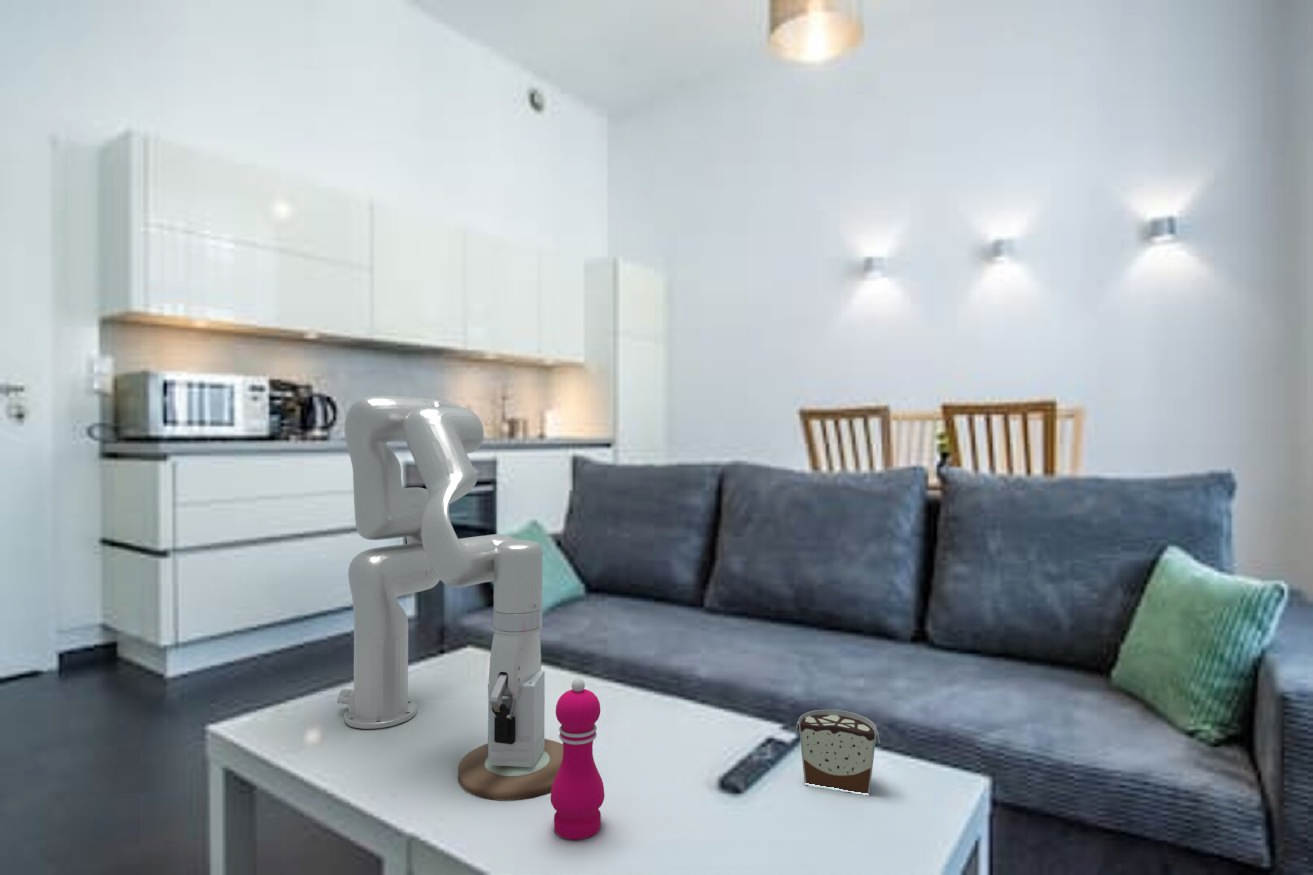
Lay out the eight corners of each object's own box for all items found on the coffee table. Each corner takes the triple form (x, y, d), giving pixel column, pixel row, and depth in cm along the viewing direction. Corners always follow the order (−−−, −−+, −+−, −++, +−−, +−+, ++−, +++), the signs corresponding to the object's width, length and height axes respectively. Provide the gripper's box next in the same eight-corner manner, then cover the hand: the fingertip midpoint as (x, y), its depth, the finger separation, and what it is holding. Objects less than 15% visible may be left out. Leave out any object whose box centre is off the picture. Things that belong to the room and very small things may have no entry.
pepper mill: (552, 814, 99) (552, 670, 99) (604, 812, 100) (604, 669, 100) (548, 843, 92) (549, 688, 92) (604, 841, 93) (605, 687, 93)
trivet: (435, 791, 105) (435, 780, 105) (491, 741, 123) (491, 731, 123) (549, 807, 101) (549, 795, 101) (590, 752, 119) (590, 742, 119)
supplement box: (545, 747, 115) (546, 669, 115) (533, 768, 108) (534, 685, 108) (501, 745, 116) (502, 667, 116) (486, 765, 109) (487, 683, 109)
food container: (881, 778, 110) (881, 714, 110) (879, 797, 104) (880, 729, 104) (800, 766, 114) (800, 703, 114) (794, 783, 108) (795, 718, 108)
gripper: (519, 605, 121) (518, 708, 121) (469, 632, 104) (467, 752, 104) (560, 608, 120) (559, 712, 120) (516, 636, 103) (515, 758, 103)
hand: (516, 730), depth 112 cm, fingers closed on supplement box, 7 cm apart
